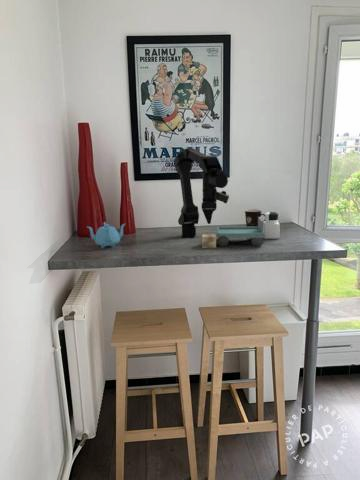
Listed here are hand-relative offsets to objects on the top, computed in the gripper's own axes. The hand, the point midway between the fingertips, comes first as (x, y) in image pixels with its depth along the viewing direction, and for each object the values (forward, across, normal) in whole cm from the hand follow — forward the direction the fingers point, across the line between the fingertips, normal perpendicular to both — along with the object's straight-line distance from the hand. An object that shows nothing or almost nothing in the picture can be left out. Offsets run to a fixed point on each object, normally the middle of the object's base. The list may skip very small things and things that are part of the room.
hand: (209, 221), depth 158 cm
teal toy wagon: (+11, +5, -14) cm, 18 cm away
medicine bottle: (+11, +16, -29) cm, 35 cm away
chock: (+11, -1, 0) cm, 11 cm away
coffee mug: (+11, +33, -23) cm, 42 cm away
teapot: (+11, -1, +46) cm, 48 cm away
